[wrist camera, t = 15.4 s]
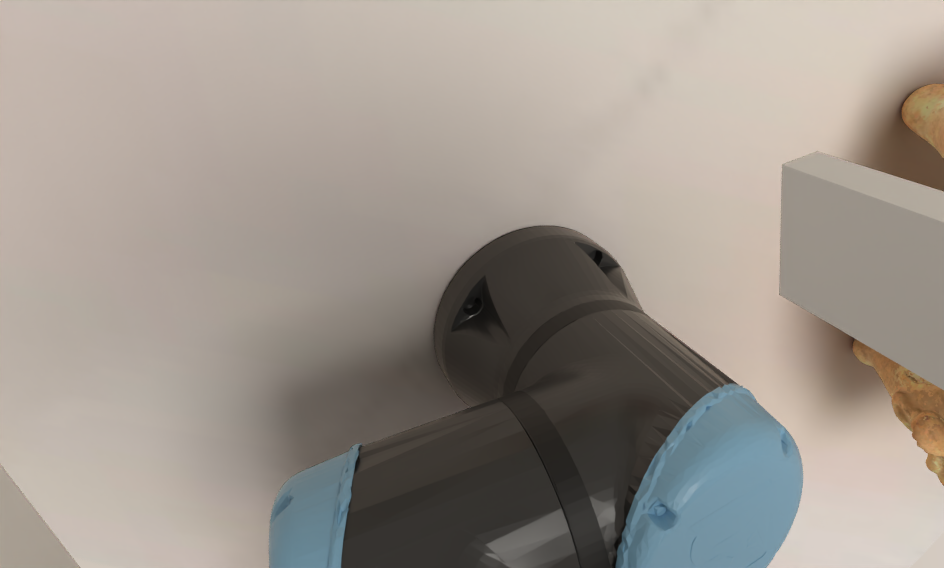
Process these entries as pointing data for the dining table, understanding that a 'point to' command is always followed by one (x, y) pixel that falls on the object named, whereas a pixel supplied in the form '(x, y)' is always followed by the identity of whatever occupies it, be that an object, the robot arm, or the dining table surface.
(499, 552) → the robot arm
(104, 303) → the dining table surface
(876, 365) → the decorative bowl
